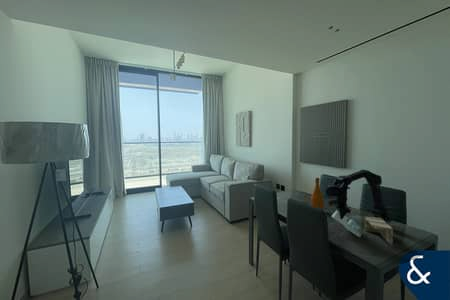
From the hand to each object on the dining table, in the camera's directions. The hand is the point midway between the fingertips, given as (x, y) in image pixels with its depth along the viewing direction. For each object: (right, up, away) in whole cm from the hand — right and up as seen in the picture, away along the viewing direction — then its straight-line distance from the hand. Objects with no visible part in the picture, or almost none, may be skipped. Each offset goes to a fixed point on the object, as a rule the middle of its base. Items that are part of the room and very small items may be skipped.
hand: (340, 218), depth 129 cm
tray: (+2, -5, 0) cm, 5 cm away
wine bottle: (+3, -8, +39) cm, 40 cm away
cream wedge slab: (+20, -10, -6) cm, 23 cm away
